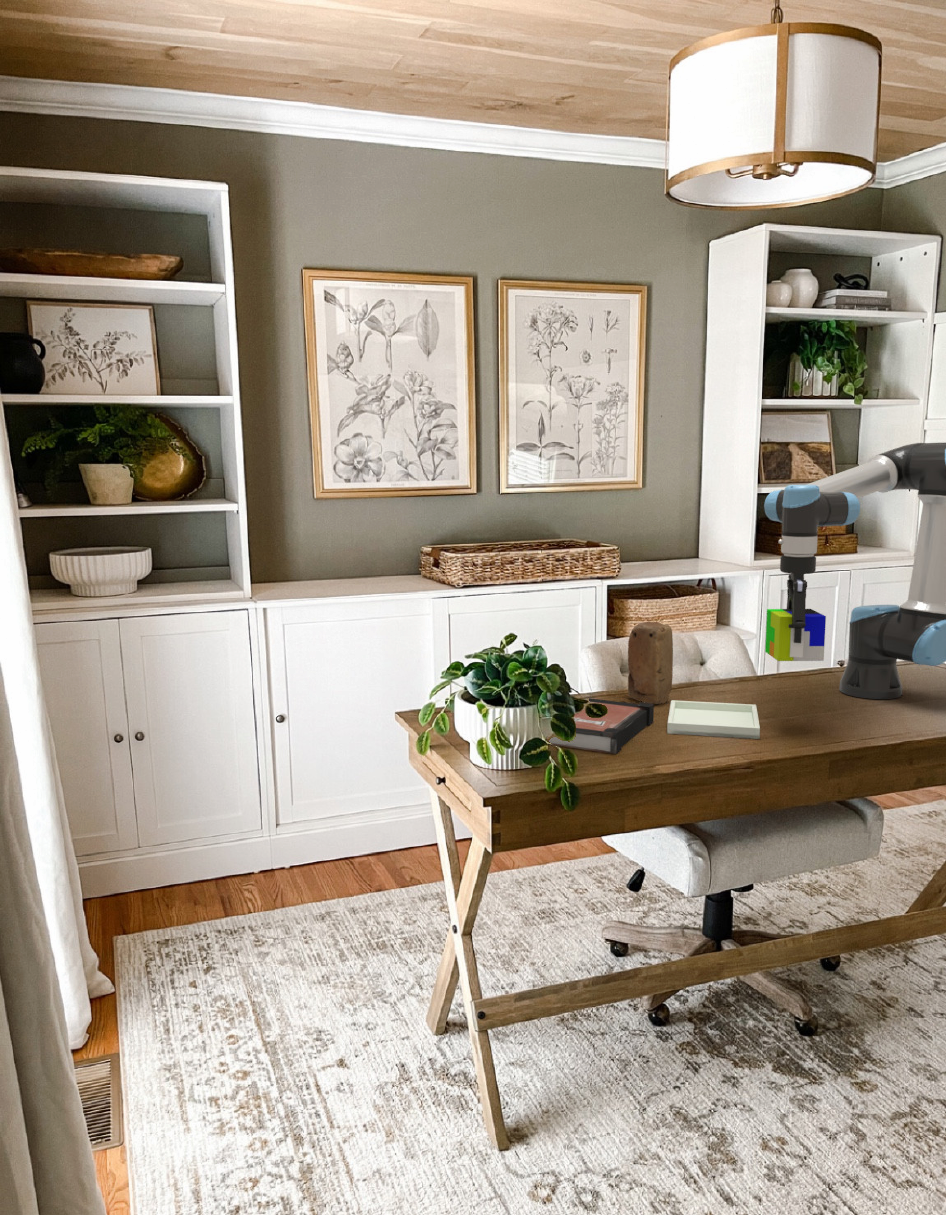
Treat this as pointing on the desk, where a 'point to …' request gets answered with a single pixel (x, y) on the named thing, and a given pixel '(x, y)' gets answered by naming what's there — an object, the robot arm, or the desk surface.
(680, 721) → the tray
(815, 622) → the puzzle toy
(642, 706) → the book
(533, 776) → the desk surface
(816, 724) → the desk surface
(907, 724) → the desk surface
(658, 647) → the block
